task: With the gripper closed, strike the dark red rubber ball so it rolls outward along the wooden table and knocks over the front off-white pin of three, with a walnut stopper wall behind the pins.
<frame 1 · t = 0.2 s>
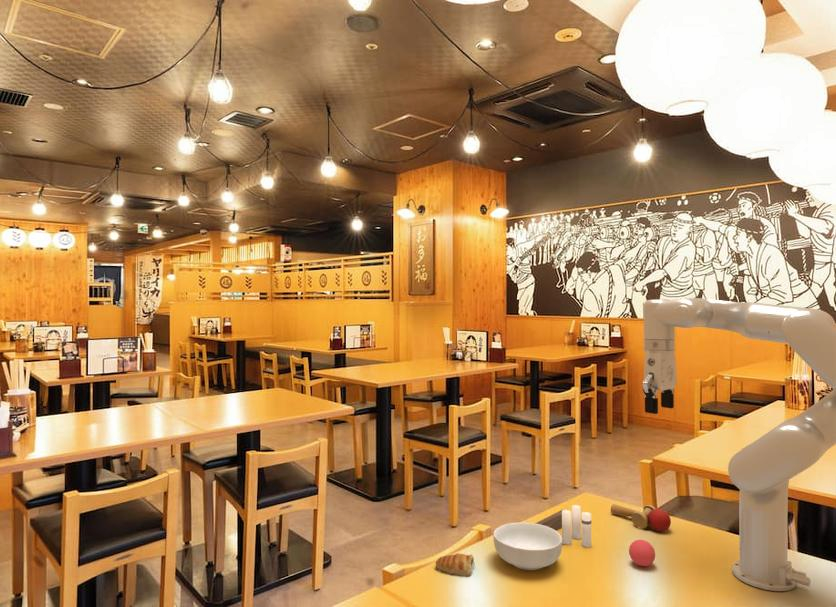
hand: (659, 410, 144), 36 cm above the table, tool pointing down, fingers open, 9 cm apart
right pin: (576, 537, 150), on the table
left pin: (566, 542, 147), on the table
pastry: (457, 571, 133), on the table
kendama: (639, 524, 159), on the table
stopper wall: (549, 532, 153), on the table
cereal bowl: (527, 563, 136), on the table
ball: (641, 552, 134), on the table
front pin: (586, 545, 145), on the table
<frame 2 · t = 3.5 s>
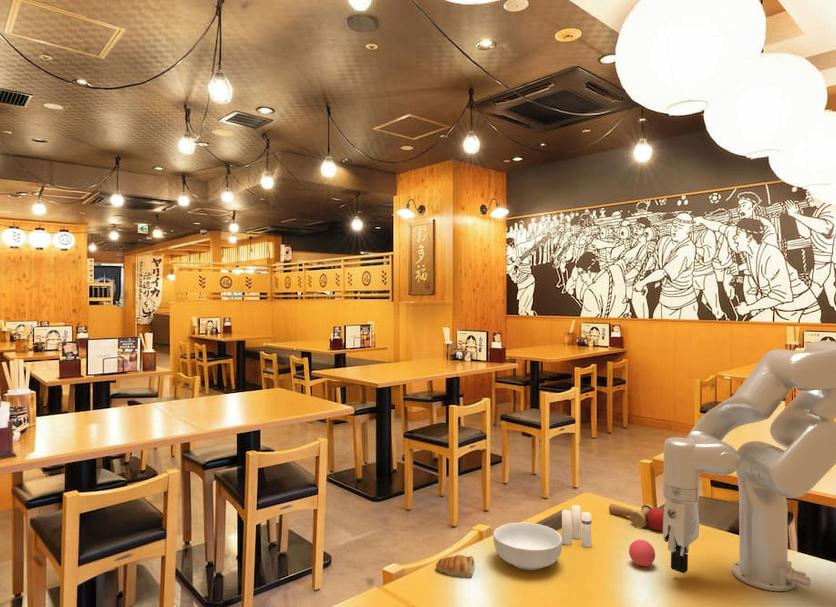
hand: (679, 569, 127), 2 cm above the table, tool pointing down, fingers closed
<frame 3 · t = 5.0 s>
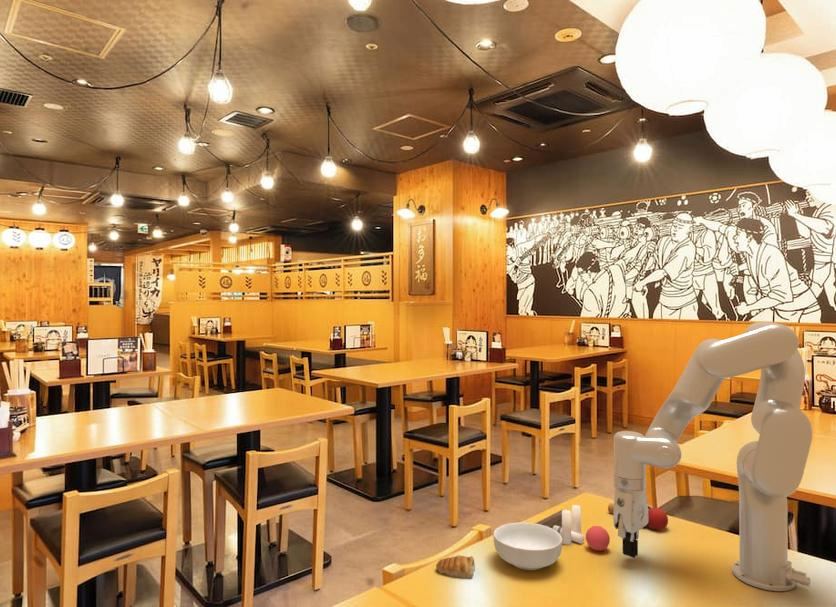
hand: (630, 554, 136), 2 cm above the table, tool pointing down, fingers closed
ball: (597, 538, 143), on the table
front pin: (582, 539, 146), point 1 cm above the table, tilted 90°
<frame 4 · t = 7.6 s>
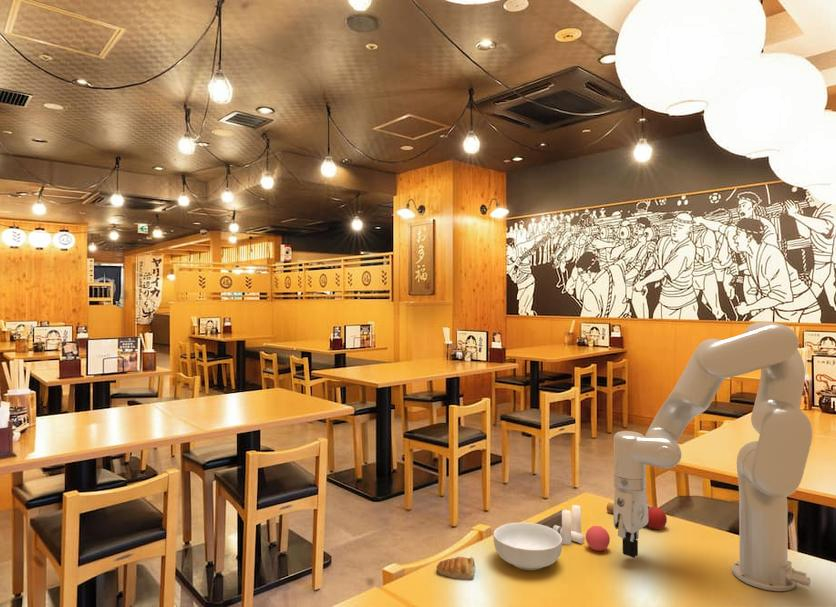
hand: (630, 554, 136), 2 cm above the table, tool pointing down, fingers closed
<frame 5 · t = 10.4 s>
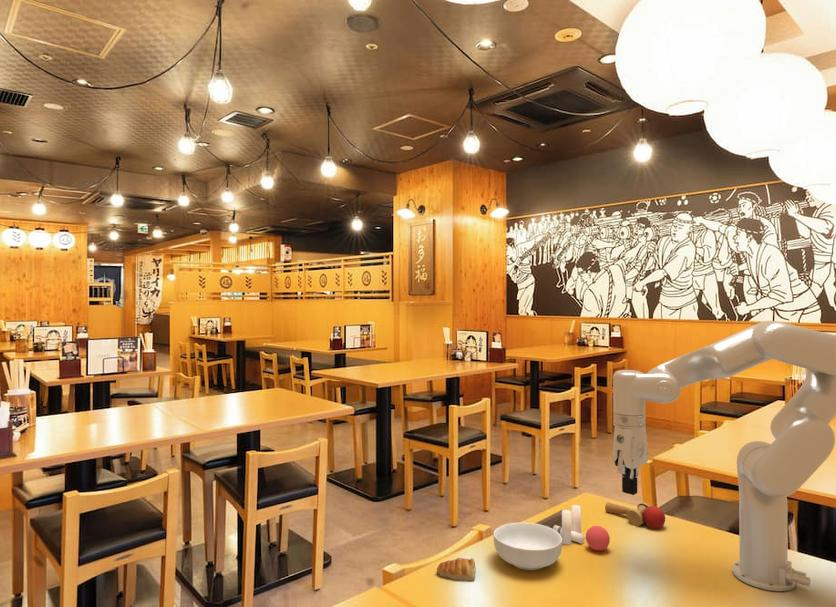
hand: (629, 492, 136), 17 cm above the table, tool pointing down, fingers closed
at the end: front pin tilted 90°; front pin never touched the robot; ball moved 11.8 cm from its start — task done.
